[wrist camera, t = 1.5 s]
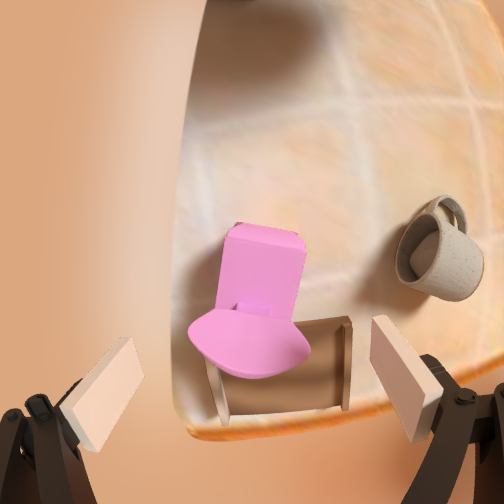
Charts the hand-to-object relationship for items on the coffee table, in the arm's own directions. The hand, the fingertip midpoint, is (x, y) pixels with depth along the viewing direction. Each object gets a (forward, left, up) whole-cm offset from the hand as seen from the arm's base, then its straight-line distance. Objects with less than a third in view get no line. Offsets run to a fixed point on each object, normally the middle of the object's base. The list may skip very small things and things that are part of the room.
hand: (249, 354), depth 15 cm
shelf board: (+13, +1, -17) cm, 21 cm away
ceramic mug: (-1, +19, -17) cm, 26 cm away
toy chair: (0, 0, -17) cm, 17 cm away
